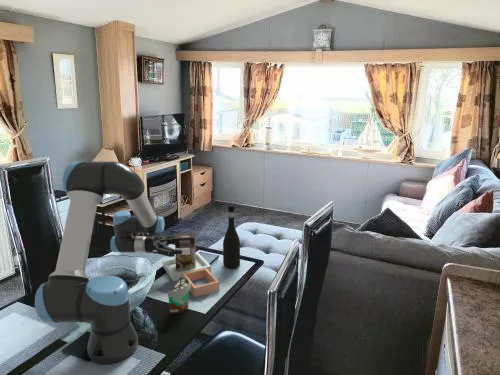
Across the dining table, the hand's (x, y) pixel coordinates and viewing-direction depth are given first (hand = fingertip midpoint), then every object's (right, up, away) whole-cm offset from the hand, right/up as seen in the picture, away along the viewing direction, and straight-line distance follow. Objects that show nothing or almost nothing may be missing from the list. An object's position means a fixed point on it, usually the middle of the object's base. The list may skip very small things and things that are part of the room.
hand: (192, 245), depth 165 cm
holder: (+5, -16, -12) cm, 20 cm away
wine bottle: (+18, -11, +7) cm, 22 cm away
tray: (-3, -12, +3) cm, 12 cm away
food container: (+1, -20, -27) cm, 33 cm away
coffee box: (-3, -11, +2) cm, 12 cm away
